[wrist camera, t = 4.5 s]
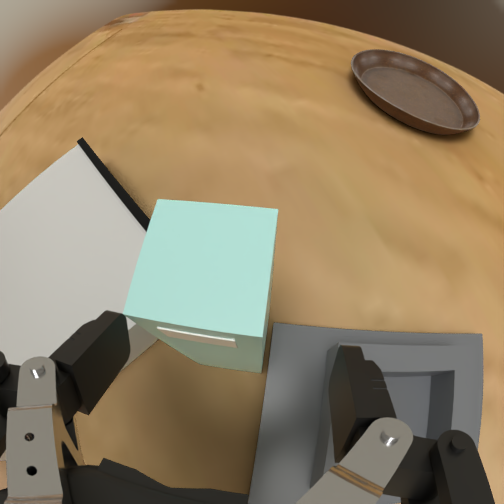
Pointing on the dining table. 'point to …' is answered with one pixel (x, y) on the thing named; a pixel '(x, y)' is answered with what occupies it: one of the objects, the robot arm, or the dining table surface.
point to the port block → (318, 408)
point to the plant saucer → (415, 92)
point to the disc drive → (67, 257)
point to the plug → (207, 281)
